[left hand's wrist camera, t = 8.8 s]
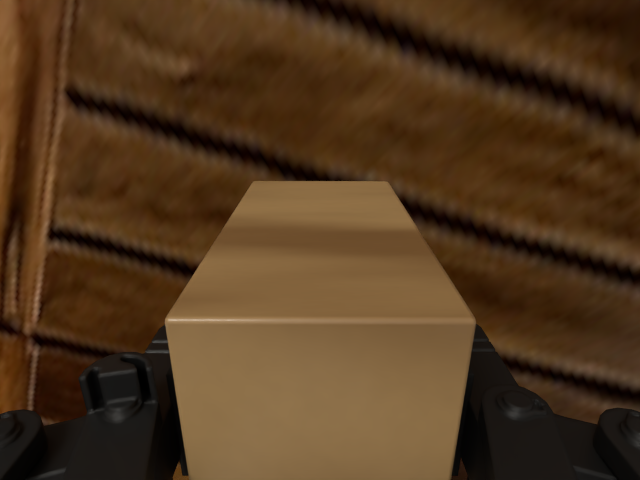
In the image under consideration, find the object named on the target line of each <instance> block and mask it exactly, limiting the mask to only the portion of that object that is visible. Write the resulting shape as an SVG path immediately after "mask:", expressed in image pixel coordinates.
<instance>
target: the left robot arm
mask: <svg viewBox="0 0 640 480" xmlns="http://www.w3.org/2000/svg"><path fill="white" fill-rule="evenodd" d="M79 382H80V386H81V390H82V394H83V397H84V401H85V405H86V409H87V415H86V416H83V417H80V418H76V419H72V420H68V421H64V422H60V423H55V424H51V425H47V426H43V423H42V420H41V417H40V416H39V415H38V414H37V413H36V412H35V411H29V410H24V409H23V410H15V411H8V412H5V413H2V414H0V480H173V478H172V477H173V474H174V472H175V469H176V466H177V464H178V461H179V458H180V463H181V469H182V475H183V476H189V474H188V468H187V461H186V455H185V449H184V442H183V436H182V429H181V423H180V416H179V410H178V404H177V397H176V391H175V384H174V378H173V371H172V365H171V358H170V352H169V346H168V339H167V333H166V326H165V325H164V326H162V327H161V328H160V329H159V330H158V332H157V333H156V335H155V337H154V338H153V340H152V343H150V344H149V346H148V348H147V349H146V352H145V353H144V354H141V353H137V352H122V353H118V354H114V355H109V356H107V357H105V358H103V359H100V360H98V361H96V362H95V363H93V364H92V365H90V366H89V367H88V368H86V369H85V370H84V372H83V373H82V374H81V376H80V377H79ZM461 458H462V461H463V463H464V466H465V469H466V472H467V474H468V478H467V480H640V412H638V411H635V410H632V409H624V408H613V409H608V410H606V411H605V412H603V413H602V414H601V415H600V418H599V421H598V424H593V423H588V422H584V421H580V420H575V419H571V418H567V417H563V416H560V415H557V414H554V413H553V412H552V410H551V408H550V407H549V405H548V404H547V402H546V401H544V400H543V399H542V398H541V397H539V396H538V395H537V394H536V393H534V392H532V391H530V390H528V389H526V388H523V387H520V386H518V384H517V383H516V381H515V380H514V378H513V376H512V375H511V373H510V372H509V370H508V369H507V367H506V366H505V364H504V362H503V361H502V359H501V358H500V356H499V355H498V353H497V352H495V348H494V347H493V345H492V344H491V342H489V339H488V337H487V336H486V334H485V333H484V331H483V330H482V328H481V327H480V326H479V325H477V324H476V327H475V333H474V339H473V345H472V352H471V358H470V364H469V370H468V376H467V383H466V389H465V395H464V401H463V408H462V414H461V420H460V426H459V432H458V439H457V445H456V451H455V457H454V464H453V470H452V476H458V471H459V465H460V459H461Z"/></svg>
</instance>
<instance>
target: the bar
mask: <svg viewBox="0 0 640 480" xmlns="http://www.w3.org/2000/svg"><path fill="white" fill-rule="evenodd" d="M165 326H166V333H167V339H168V346H169V352H170V358H171V365H172V371H173V378H174V384H175V391H176V397H177V404H178V410H179V416H180V423H181V429H182V436H183V442H184V449H185V455H186V461H187V468H188V474H189V480H451V476H452V470H453V464H454V457H455V451H456V445H457V439H458V432H459V426H460V420H461V414H462V408H463V401H464V395H465V389H466V383H467V376H468V370H469V364H470V358H471V352H472V345H473V339H474V333H475V327H476V320H475V317H474V316H473V314H472V313H471V311H470V309H469V308H468V306H467V305H466V303H465V302H464V300H463V298H462V297H461V295H460V294H459V292H458V291H457V289H456V288H455V286H454V284H453V283H452V281H451V280H450V278H449V277H448V275H447V273H446V272H445V270H444V269H443V267H442V266H441V264H440V263H439V261H438V259H437V258H436V256H435V255H434V253H433V252H432V250H431V248H430V247H429V245H428V244H427V242H426V241H425V239H424V238H423V236H422V234H421V233H420V231H419V230H418V228H417V227H416V225H415V223H414V222H413V220H412V219H411V217H410V216H409V214H408V213H407V211H406V209H405V208H404V206H403V205H402V203H401V202H400V200H399V198H398V197H397V195H396V194H395V192H394V191H393V189H392V188H391V186H390V184H389V183H388V182H386V181H254V182H253V183H252V184H251V186H250V187H249V189H248V190H247V192H246V193H245V195H244V197H243V198H242V200H241V201H240V203H239V204H238V206H237V207H236V209H235V211H234V212H233V214H232V215H231V217H230V218H229V220H228V221H227V223H226V225H225V226H224V228H223V229H222V231H221V232H220V234H219V235H218V237H217V239H216V240H215V242H214V243H213V245H212V246H211V248H210V250H209V251H208V253H207V254H206V256H205V257H204V259H203V260H202V262H201V264H200V265H199V267H198V268H197V270H196V271H195V273H194V274H193V276H192V278H191V279H190V281H189V282H188V284H187V285H186V287H185V288H184V290H183V292H182V293H181V295H180V296H179V298H178V299H177V301H176V302H175V304H174V306H173V307H172V309H171V310H170V312H169V313H168V315H167V317H166V319H165Z"/></svg>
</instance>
